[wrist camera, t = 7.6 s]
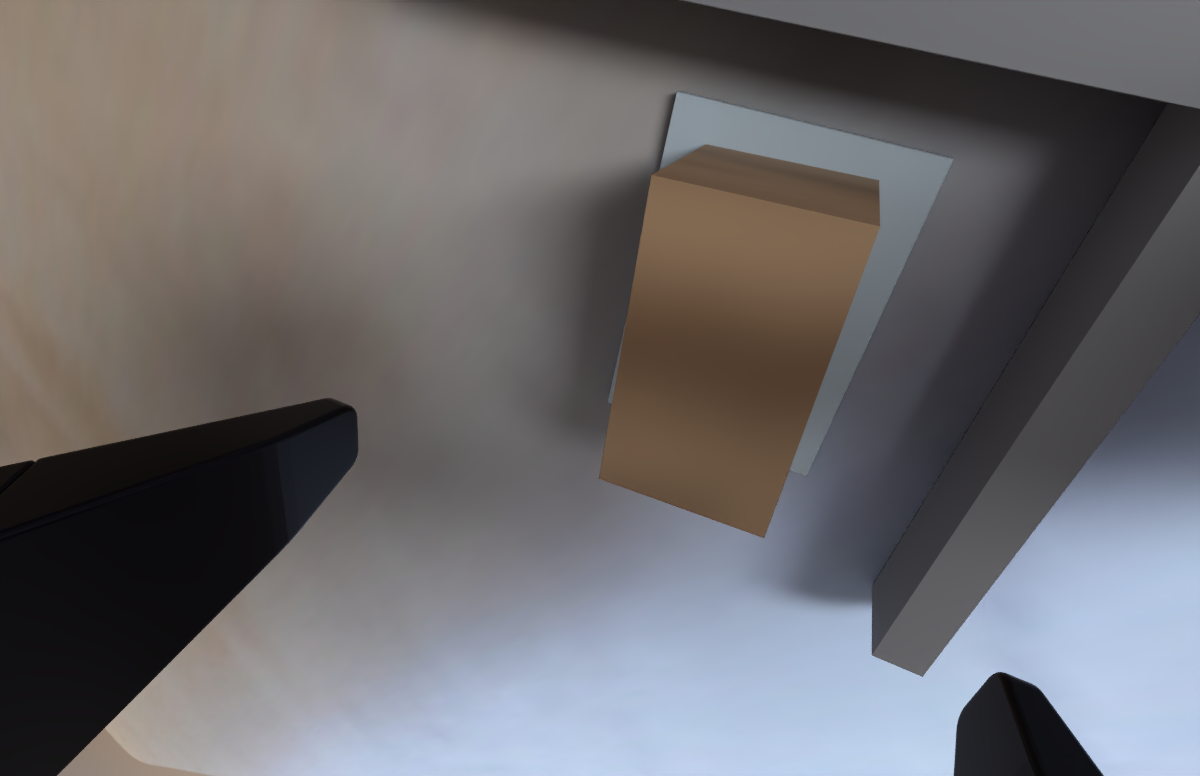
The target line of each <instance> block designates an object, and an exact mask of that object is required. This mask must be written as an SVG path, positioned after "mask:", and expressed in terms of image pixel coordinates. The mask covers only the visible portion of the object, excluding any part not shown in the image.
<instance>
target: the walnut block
mask: <svg viewBox="0 0 1200 776" xmlns="http://www.w3.org/2000/svg"><path fill="white" fill-rule="evenodd" d="M879 229H880V194H879V180H876V179H871V178H866V177H861V176H856V175H852V174H847V173H842V172H837V171H832V170H828V169H823V168H818V167H813V166H808V165H804V164H799V163H794V162H789V161H785V160H780V159H775V158H770V157H765V156H761V155H756V154H751V153H746V152H741V151H737V150H732V149H727V148H722V147H717V146H713V145H708V144H706V145H704V146H702V147H700V148H698V149H697V150H695V151H693V152H691V153H689V154H688V155H686V156H684V157H682V158H681V159H679V160H677V161H675V162H673V163H672V164H670V165H668V166H666V167H665V168H663V169H661V170H659V171H657V172H656V173H654V174H652V175H651V180H650V186H649V192H648V198H647V203H646V209H645V215H644V221H643V227H642V232H641V238H640V244H639V250H638V255H637V261H636V267H635V273H634V278H633V284H632V290H631V296H630V302H629V307H628V313H627V319H626V325H625V330H624V336H623V342H622V348H621V354H620V359H619V365H618V371H617V377H616V382H615V388H614V394H613V400H612V406H611V411H610V417H609V423H608V429H607V434H606V440H605V446H604V452H603V458H602V463H601V469H600V475H599V479H601V480H604V481H607V482H610V483H612V484H615V485H618V486H621V487H624V488H626V489H629V490H632V491H635V492H637V493H640V494H643V495H646V496H649V497H651V498H654V499H657V500H660V501H662V502H665V503H668V504H671V505H674V506H676V507H679V508H682V509H685V510H687V511H690V512H693V513H696V514H699V515H701V516H704V517H707V518H710V519H712V520H715V521H718V522H721V523H724V524H726V525H729V526H732V527H735V528H737V529H740V530H743V531H746V532H749V533H751V534H754V535H757V536H760V537H762V538H764V537H765V534H766V531H767V529H768V526H769V523H770V521H771V518H772V515H773V513H774V510H775V507H776V505H777V502H778V499H779V497H780V494H781V491H782V489H783V486H784V483H785V481H786V478H787V475H788V472H789V470H790V467H791V464H792V462H793V459H794V456H795V454H796V451H797V448H798V446H799V443H800V440H801V438H802V435H803V432H804V430H805V427H806V424H807V422H808V419H809V416H810V414H811V411H812V408H813V406H814V403H815V400H816V397H817V395H818V392H819V389H820V387H821V384H822V381H823V379H824V376H825V373H826V371H827V368H828V365H829V363H830V360H831V357H832V355H833V352H834V349H835V347H836V344H837V341H838V339H839V336H840V333H841V331H842V328H843V325H844V322H845V320H846V317H847V314H848V312H849V309H850V306H851V304H852V301H853V298H854V296H855V293H856V290H857V288H858V285H859V282H860V280H861V277H862V274H863V272H864V269H865V266H866V264H867V261H868V258H869V256H870V253H871V250H872V247H873V245H874V242H875V239H876V237H877V234H878V231H879Z"/></svg>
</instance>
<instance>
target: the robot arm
mask: <svg viewBox="0 0 1200 776" xmlns="http://www.w3.org/2000/svg"><path fill="white" fill-rule="evenodd" d="M357 454H358V427H357V413H356V411H355V409H354V408H353V407H352V406H350V405H348V404H345V403H343V402H340V401H338V400H335V399H331V398H326V399H320V400H316V401H311V402H306V403H301V404H297V405H292V406H287V407H282V408H278V409H273V410H268V411H263V412H259V413H254V414H249V415H244V416H240V417H235V418H230V419H225V420H221V421H216V422H211V423H206V424H202V425H197V426H192V427H187V428H183V429H178V430H173V431H168V432H164V433H159V434H154V435H149V436H145V437H140V438H135V439H130V440H126V441H121V442H116V443H111V444H107V445H102V446H97V447H92V448H88V449H83V450H78V451H73V452H69V453H64V454H59V455H54V456H49V457H45V458H40V459H38V460H37V461H36V462H35V461H32V460H30V461H25V462H20V463H16V464H11V465H6V466H2V467H0V776H57V775H58V774H59V773H60V772H61V771H62V770H63V769H64V768H65V767H66V766H67V765H68V764H69V763H70V762H71V761H72V760H73V759H74V758H75V757H76V756H77V755H78V754H79V753H80V752H81V751H82V750H83V749H84V748H85V747H86V746H87V745H88V744H89V743H90V742H91V741H92V740H93V739H94V738H95V737H96V736H97V735H98V734H99V733H100V732H101V731H102V730H103V729H104V728H105V727H106V726H107V725H108V724H109V723H110V722H111V721H112V720H113V719H114V718H115V717H116V716H117V715H118V714H119V713H120V712H121V711H122V710H123V709H124V708H125V707H126V706H127V705H128V704H129V703H130V702H131V701H132V700H133V699H134V698H135V697H136V696H137V695H138V694H139V693H140V692H141V691H142V690H143V689H144V688H145V687H146V686H147V685H148V684H149V683H150V682H151V681H152V680H153V679H154V678H155V677H156V676H157V675H158V674H159V673H160V672H161V671H162V670H163V669H164V668H165V667H166V666H167V665H168V664H169V663H170V662H171V661H172V660H173V659H174V658H175V657H176V656H177V655H178V654H179V653H180V652H181V651H182V650H183V649H184V648H185V647H186V646H187V645H188V644H189V643H190V642H191V641H192V640H193V639H194V638H195V637H196V636H197V635H198V634H199V633H200V632H201V631H202V630H203V629H204V628H205V627H206V626H207V625H208V624H209V623H210V622H211V621H212V620H213V619H214V618H215V617H216V616H217V615H218V614H219V613H220V612H221V611H222V610H223V609H224V608H225V607H226V606H227V605H228V604H229V603H230V602H231V601H232V600H233V599H234V598H235V597H236V596H237V595H238V594H239V593H240V592H241V591H242V590H243V589H244V588H245V587H246V586H247V585H248V584H249V583H250V582H251V581H252V580H253V579H254V578H255V577H256V576H257V575H258V574H259V573H260V572H261V571H262V570H263V569H264V568H265V567H266V566H267V565H268V564H269V563H270V562H271V561H272V560H273V559H274V558H275V557H276V556H277V555H278V554H279V552H280V551H281V550H282V549H283V548H284V547H285V546H286V545H287V544H288V543H289V542H290V541H291V540H292V538H293V537H294V536H295V535H296V534H297V533H298V532H299V530H300V529H301V528H302V527H303V526H304V524H305V523H306V522H307V521H308V519H309V518H310V517H311V516H312V515H313V513H314V512H315V511H316V510H317V508H318V507H319V506H320V505H321V504H322V502H323V501H324V500H325V499H326V497H327V496H328V495H329V494H330V493H331V491H332V490H333V489H334V488H335V486H336V485H337V484H338V483H339V481H340V480H341V479H342V478H343V477H344V475H345V474H346V473H347V472H348V470H349V469H350V468H351V467H352V465H353V464H354V462H355V460H356V458H357ZM954 776H1104V775H1103V774H1102V773H1101V771H1100V770H1099V769H1098V767H1097V766H1096V765H1095V763H1094V762H1093V760H1092V759H1091V758H1090V756H1089V755H1088V754H1087V752H1086V751H1085V750H1084V748H1083V747H1082V746H1081V744H1080V743H1079V741H1078V740H1077V739H1076V737H1075V736H1074V735H1073V733H1072V732H1071V731H1070V729H1069V728H1068V726H1067V725H1066V724H1065V722H1064V721H1063V720H1062V718H1061V717H1060V716H1059V714H1058V713H1057V711H1056V710H1055V709H1054V707H1053V706H1052V705H1051V703H1050V702H1049V701H1048V699H1047V698H1046V696H1045V695H1044V694H1043V693H1042V692H1041V690H1040V689H1039V688H1038V687H1036V686H1035V685H1033V684H1031V683H1029V682H1026V681H1024V680H1021V679H1019V678H1016V677H1014V676H1011V675H1009V674H1007V673H1003V672H997V673H995V674H993V675H992V676H991V677H989V678H988V680H987V681H986V682H985V683H984V684H983V686H982V687H981V688H980V689H979V690H978V692H977V693H976V694H975V695H974V696H973V697H972V699H971V700H970V701H969V702H968V703H967V705H966V706H965V707H964V708H963V710H962V712H961V714H960V716H959V719H958V724H957V732H956V748H955V764H954Z"/></svg>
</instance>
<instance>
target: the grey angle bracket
mask: <svg viewBox="0 0 1200 776" xmlns="http://www.w3.org/2000/svg"><path fill="white" fill-rule="evenodd" d="M679 1H684V2H688V3H693V4H698V5H703V6H707V7H712V8H717V9H722V10H726V11H731V12H736V13H741V14H745V15H750V16H755V17H760V18H764V19H769V20H774V21H779V22H783V23H788V24H793V25H798V26H802V27H807V28H812V29H817V30H821V31H826V32H831V33H836V34H840V35H845V36H850V37H855V38H859V39H864V40H869V41H874V42H878V43H883V44H888V45H893V46H897V47H902V48H907V49H912V50H916V51H921V52H926V53H931V54H935V55H940V56H945V57H950V58H954V59H959V60H964V61H968V62H973V63H978V64H983V65H987V66H992V67H997V68H1002V69H1006V70H1011V71H1016V72H1021V73H1025V74H1030V75H1035V76H1040V77H1044V78H1049V79H1054V80H1059V81H1063V82H1068V83H1073V84H1078V85H1082V86H1087V87H1092V88H1097V89H1101V90H1106V91H1111V92H1116V93H1120V94H1125V95H1130V96H1135V97H1139V98H1144V99H1149V100H1154V101H1158V102H1163V103H1167V105H1166V106H1165V108H1164V110H1163V111H1162V113H1161V114H1160V116H1159V118H1158V119H1157V121H1156V123H1155V124H1154V126H1153V128H1152V129H1151V131H1150V132H1149V134H1148V136H1147V137H1146V139H1145V141H1144V142H1143V144H1142V146H1141V147H1140V149H1139V150H1138V152H1137V154H1136V155H1135V157H1134V159H1133V160H1132V162H1131V164H1130V165H1129V167H1128V168H1127V170H1126V172H1125V173H1124V175H1123V177H1122V178H1121V180H1120V182H1119V183H1118V185H1117V186H1116V188H1115V190H1114V191H1113V193H1112V195H1111V196H1110V198H1109V200H1108V201H1107V203H1106V204H1105V206H1104V208H1103V209H1102V211H1101V213H1100V214H1099V216H1098V217H1097V219H1096V221H1095V222H1094V224H1093V226H1092V227H1091V229H1090V231H1089V232H1088V234H1087V235H1086V237H1085V239H1084V240H1083V242H1082V244H1081V245H1080V247H1079V249H1078V250H1077V252H1076V253H1075V255H1074V257H1073V258H1072V260H1071V262H1070V263H1069V265H1068V267H1067V268H1066V270H1065V271H1064V273H1063V275H1062V276H1061V278H1060V280H1059V281H1058V283H1057V285H1056V286H1055V288H1054V289H1053V291H1052V293H1051V294H1050V296H1049V298H1048V299H1047V301H1046V303H1045V304H1044V306H1043V307H1042V309H1041V311H1040V312H1039V314H1038V316H1037V317H1036V319H1035V321H1034V322H1033V324H1032V325H1031V327H1030V329H1029V330H1028V332H1027V334H1026V335H1025V337H1024V339H1023V340H1022V342H1021V343H1020V345H1019V347H1018V348H1017V350H1016V352H1015V353H1014V355H1013V357H1012V358H1011V360H1010V361H1009V363H1008V365H1007V366H1006V368H1005V370H1004V371H1003V373H1002V375H1001V376H1000V378H999V379H998V381H997V383H996V384H995V386H994V388H993V389H992V391H991V393H990V394H989V396H988V397H987V399H986V401H985V402H984V404H983V406H982V407H981V409H980V411H979V412H978V414H977V415H976V417H975V419H974V420H973V422H972V424H971V425H970V427H969V429H968V430H967V432H966V433H965V435H964V437H963V438H962V440H961V442H960V443H959V445H958V447H957V448H956V450H955V451H954V453H953V455H952V456H951V458H950V460H949V461H948V463H947V465H946V466H945V468H944V469H943V471H942V473H941V474H940V476H939V478H938V479H937V481H936V483H935V484H934V486H933V487H932V489H931V491H930V492H929V494H928V496H927V497H926V499H925V501H924V502H923V504H922V505H921V507H920V509H919V510H918V512H917V514H916V515H915V517H914V519H913V520H912V522H911V523H910V525H909V527H908V528H907V530H906V532H905V533H904V535H903V537H902V538H901V540H900V541H899V543H898V545H897V546H896V548H895V550H894V551H893V553H892V555H891V556H890V558H889V559H888V561H887V563H886V564H885V566H884V568H883V569H882V571H881V572H880V574H879V576H878V577H877V579H876V581H875V582H874V584H873V586H872V655H873V656H875V657H877V658H880V659H882V660H884V661H887V662H889V663H891V664H894V665H896V666H898V667H901V668H903V669H906V670H908V671H910V672H913V673H915V674H917V675H920V676H922V677H923V675H924V674H925V673H926V671H927V670H928V669H929V668H930V666H931V665H932V664H933V662H934V661H935V660H936V658H937V657H938V656H939V654H940V653H941V652H942V651H943V649H944V648H945V647H946V645H947V644H948V643H949V641H950V640H951V639H952V637H953V636H954V635H955V633H956V632H957V631H958V630H959V628H960V627H961V626H962V624H963V623H964V622H965V620H966V619H967V618H968V616H969V615H970V614H971V612H972V611H973V610H974V609H975V607H976V606H977V605H978V603H979V602H980V601H981V599H982V598H983V597H984V595H985V594H986V593H987V592H988V590H989V589H990V588H991V586H992V585H993V584H994V582H995V581H996V580H997V578H998V577H999V576H1000V574H1001V573H1002V572H1003V571H1004V569H1005V568H1006V567H1007V565H1008V564H1009V563H1010V561H1011V560H1012V559H1013V557H1014V556H1015V555H1016V553H1017V552H1018V551H1019V550H1020V548H1021V547H1022V546H1023V544H1024V543H1025V542H1026V540H1027V539H1028V538H1029V536H1030V535H1031V534H1032V532H1033V531H1034V530H1035V529H1036V527H1037V526H1038V525H1039V523H1040V522H1041V521H1042V519H1043V518H1044V517H1045V515H1046V514H1047V513H1048V512H1049V510H1050V509H1051V508H1052V506H1053V505H1054V504H1055V502H1056V501H1057V500H1058V498H1059V497H1060V496H1061V494H1062V493H1063V492H1064V491H1065V489H1066V488H1067V487H1068V485H1069V484H1070V483H1071V481H1072V480H1073V479H1074V477H1075V476H1076V475H1077V473H1078V472H1079V471H1080V470H1081V468H1082V467H1083V466H1084V464H1085V463H1086V462H1087V460H1088V459H1089V458H1090V456H1091V455H1092V454H1093V452H1094V451H1095V450H1096V449H1097V447H1098V446H1099V445H1100V443H1101V442H1102V441H1103V439H1104V438H1105V437H1106V435H1107V434H1108V433H1109V432H1110V430H1111V429H1112V428H1113V426H1114V425H1115V424H1116V422H1117V421H1118V420H1119V418H1120V417H1121V416H1122V414H1123V413H1124V412H1125V411H1126V409H1127V408H1128V407H1129V405H1130V404H1131V403H1132V401H1133V400H1134V399H1135V397H1136V396H1137V395H1138V393H1139V392H1140V391H1141V390H1142V388H1143V387H1144V386H1145V384H1146V383H1147V382H1148V380H1149V379H1150V378H1151V376H1152V375H1153V374H1154V372H1155V371H1156V370H1157V369H1158V367H1159V366H1160V365H1161V363H1162V362H1163V361H1164V359H1165V358H1166V357H1167V355H1168V354H1169V353H1170V352H1171V350H1172V349H1173V348H1174V346H1175V345H1176V344H1177V342H1178V341H1179V340H1180V338H1181V337H1182V336H1183V334H1184V333H1185V332H1186V331H1187V329H1188V328H1189V327H1190V325H1191V324H1192V323H1193V321H1194V320H1195V319H1196V317H1197V316H1198V315H1199V313H1200V0H679Z"/></svg>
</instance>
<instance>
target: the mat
mask: <svg viewBox="0 0 1200 776" xmlns="http://www.w3.org/2000/svg"><path fill="white" fill-rule="evenodd" d="M706 144H708V145H713V146H717V147H722V148H727V149H732V150H737V151H741V152H746V153H751V154H756V155H761V156H765V157H770V158H775V159H780V160H785V161H789V162H794V163H799V164H804V165H808V166H813V167H818V168H823V169H828V170H832V171H837V172H842V173H847V174H852V175H856V176H861V177H866V178H871V179H876V180H879V194H880V229H879V231H878V234H877V237H876V239H875V242H874V245H873V247H872V250H871V253H870V256H869V258H868V261H867V264H866V266H865V269H864V272H863V274H862V277H861V280H860V282H859V285H858V288H857V290H856V293H855V296H854V298H853V301H852V304H851V306H850V309H849V312H848V314H847V317H846V320H845V322H844V325H843V328H842V331H841V333H840V336H839V339H838V341H837V344H836V347H835V349H834V352H833V355H832V357H831V360H830V363H829V365H828V368H827V371H826V373H825V376H824V379H823V381H822V384H821V387H820V389H819V392H818V395H817V397H816V400H815V403H814V406H813V408H812V411H811V414H810V416H809V419H808V422H807V424H806V427H805V430H804V432H803V435H802V438H801V440H800V443H799V446H798V448H797V451H796V454H795V456H794V459H793V462H792V464H791V467H790V471H793V472H796V473H799V474H801V475H804V476H807V474H808V472H809V470H810V468H811V466H812V464H813V462H814V459H815V457H816V455H817V453H818V451H819V449H820V446H821V444H822V442H823V440H824V438H825V436H826V433H827V431H828V429H829V427H830V425H831V423H832V421H833V418H834V416H835V414H836V412H837V410H838V408H839V405H840V403H841V401H842V399H843V397H844V395H845V393H846V390H847V388H848V386H849V384H850V382H851V380H852V377H853V375H854V373H855V371H856V369H857V367H858V364H859V362H860V360H861V358H862V356H863V354H864V352H865V349H866V347H867V345H868V343H869V341H870V339H871V336H872V334H873V332H874V330H875V328H876V326H877V324H878V321H879V319H880V317H881V315H882V313H883V311H884V308H885V306H886V304H887V302H888V300H889V298H890V295H891V293H892V291H893V289H894V287H895V285H896V283H897V280H898V278H899V276H900V274H901V272H902V270H903V267H904V265H905V263H906V261H907V259H908V257H909V254H910V252H911V250H912V248H913V246H914V244H915V242H916V239H917V237H918V235H919V233H920V231H921V229H922V226H923V224H924V222H925V220H926V218H927V216H928V214H929V211H930V209H931V207H932V205H933V203H934V201H935V198H936V196H937V194H938V192H939V190H940V188H941V185H942V183H943V181H944V179H945V177H946V175H947V173H948V170H949V168H950V166H951V164H952V162H953V160H954V159H953V158H951V157H947V156H943V155H939V154H935V153H931V152H927V151H923V150H919V149H915V148H911V147H906V146H902V145H898V144H894V143H890V142H886V141H882V140H878V139H874V138H870V137H866V136H861V135H857V134H853V133H849V132H845V131H841V130H837V129H833V128H829V127H825V126H821V125H816V124H812V123H808V122H804V121H800V120H796V119H792V118H788V117H784V116H780V115H776V114H771V113H767V112H763V111H759V110H755V109H751V108H747V107H743V106H739V105H735V104H731V103H726V102H722V101H718V100H714V99H710V98H706V97H702V96H698V95H694V94H690V93H686V92H682V91H678V92H677V94H676V99H675V103H674V107H673V112H672V116H671V121H670V125H669V130H668V134H667V139H666V143H665V148H664V152H663V157H662V161H661V166H660V170H661V169H663V168H665V167H666V166H668V165H670V164H672V163H673V162H675V161H677V160H679V159H681V158H682V157H684V156H686V155H688V154H689V153H691V152H693V151H695V150H697V149H698V148H700V147H702V146H704V145H706ZM626 319H627V317H626ZM625 325H626V322H625ZM624 330H625V326H624ZM623 336H624V331H623V335H622V340H621V344H620V349H619V353H618V358H617V362H616V367H615V371H614V376H613V380H612V384H611V389H610V393H609V398H608V402H607V403H610V404H612V400H613V394H614V388H615V382H616V377H617V371H618V365H619V359H620V354H621V348H622V342H623Z"/></svg>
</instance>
